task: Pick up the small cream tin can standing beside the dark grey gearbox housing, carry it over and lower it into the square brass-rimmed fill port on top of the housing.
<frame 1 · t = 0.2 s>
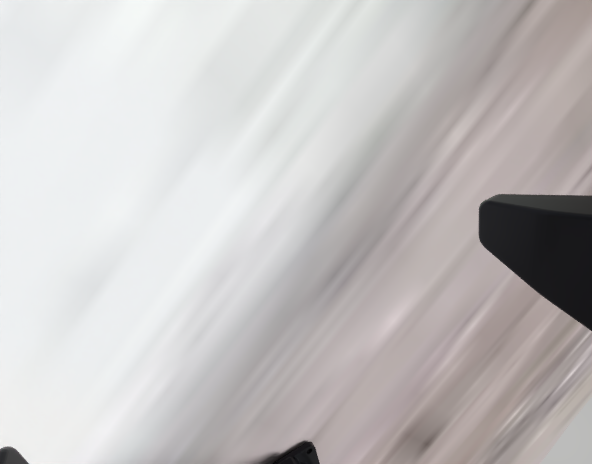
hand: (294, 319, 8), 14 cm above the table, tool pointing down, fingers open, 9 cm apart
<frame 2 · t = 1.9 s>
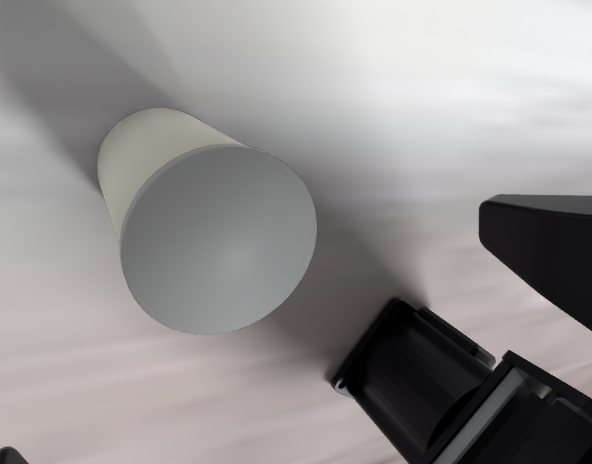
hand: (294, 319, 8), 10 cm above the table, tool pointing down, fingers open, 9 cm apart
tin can: (163, 169, 16), on the table
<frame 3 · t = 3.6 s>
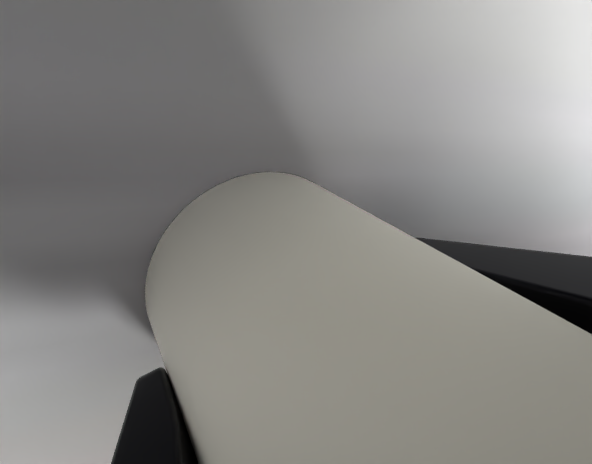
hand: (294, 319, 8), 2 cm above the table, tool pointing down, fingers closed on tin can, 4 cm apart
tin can: (259, 279, 9), on the table, touching gripper
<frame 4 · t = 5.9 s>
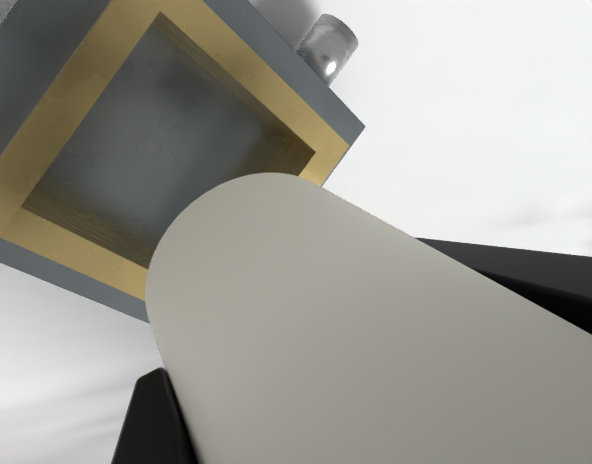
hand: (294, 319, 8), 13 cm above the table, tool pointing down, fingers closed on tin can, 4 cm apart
gearbox: (155, 144, 18), on the table
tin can: (260, 280, 9), point 11 cm above the table, touching gripper
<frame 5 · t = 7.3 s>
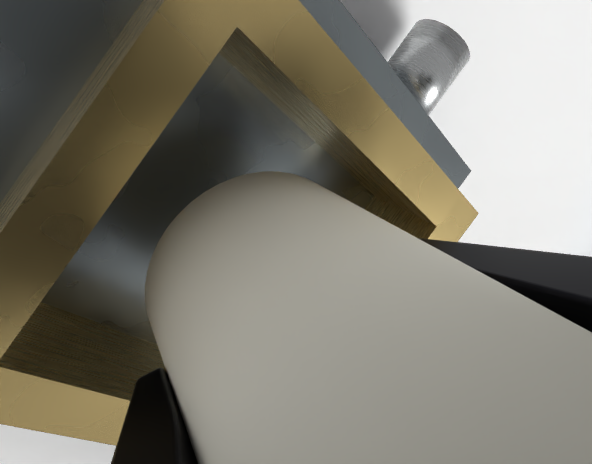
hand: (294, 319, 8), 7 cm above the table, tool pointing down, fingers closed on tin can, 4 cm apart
gearbox: (190, 198, 13), on the table
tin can: (260, 279, 9), point 5 cm above the table, touching gripper
when the fingers open (6 cm above the table, at t = 8.2 s): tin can drops 2 cm, resting on gearbox.
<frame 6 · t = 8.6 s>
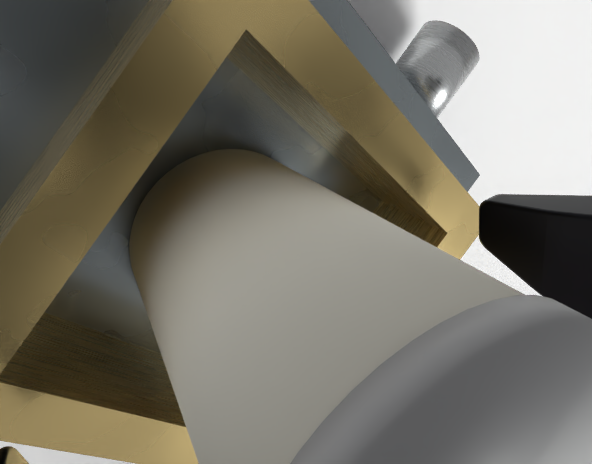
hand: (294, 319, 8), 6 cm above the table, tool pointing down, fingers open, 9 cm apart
gearbox: (194, 203, 13), on the table
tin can: (228, 241, 10), point 3 cm above the table, touching gearbox
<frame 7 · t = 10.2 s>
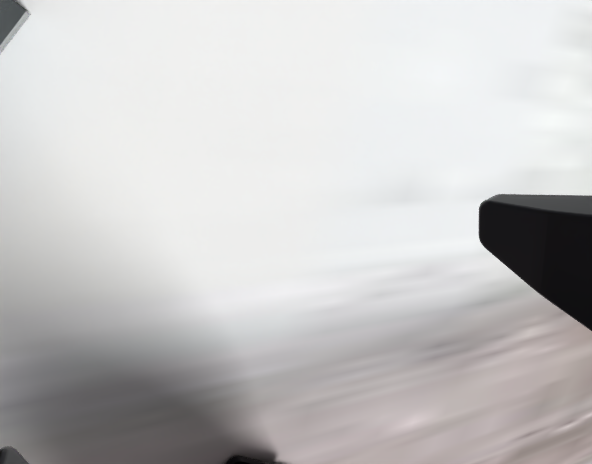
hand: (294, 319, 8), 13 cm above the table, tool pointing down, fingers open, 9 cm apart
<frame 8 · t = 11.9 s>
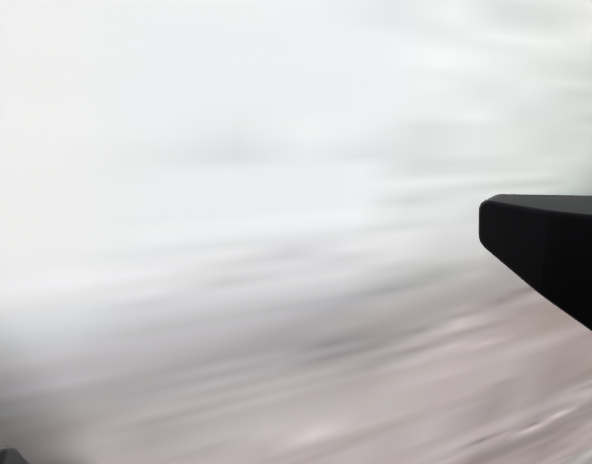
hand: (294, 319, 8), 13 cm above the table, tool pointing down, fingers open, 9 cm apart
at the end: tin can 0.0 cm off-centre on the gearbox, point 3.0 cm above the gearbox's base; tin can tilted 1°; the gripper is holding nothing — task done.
